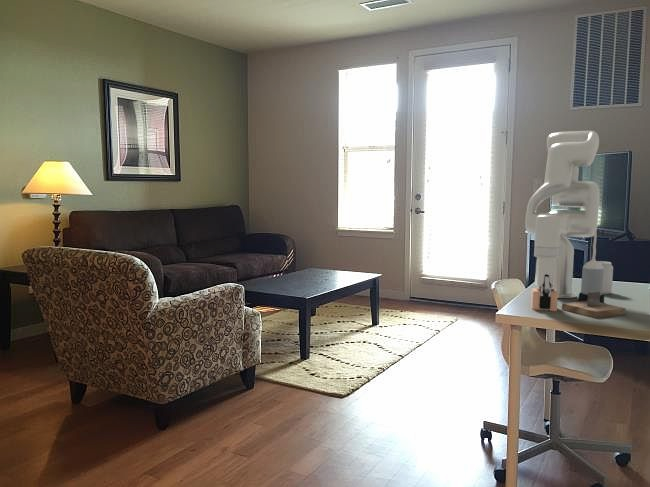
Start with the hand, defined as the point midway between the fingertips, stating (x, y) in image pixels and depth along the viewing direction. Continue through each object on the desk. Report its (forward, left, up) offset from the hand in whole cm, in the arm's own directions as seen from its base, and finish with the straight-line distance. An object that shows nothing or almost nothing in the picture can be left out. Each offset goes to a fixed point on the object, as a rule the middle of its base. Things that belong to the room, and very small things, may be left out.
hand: (543, 305), depth 184 cm
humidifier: (-1, +23, -1) cm, 23 cm away
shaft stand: (+10, +11, -1) cm, 15 cm away
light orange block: (0, 0, -1) cm, 1 cm away
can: (-13, +42, -1) cm, 44 cm away
